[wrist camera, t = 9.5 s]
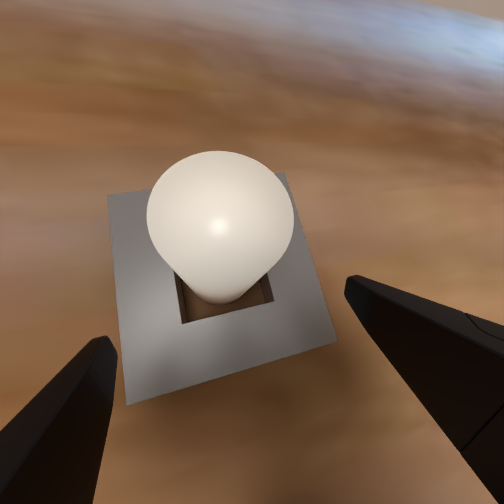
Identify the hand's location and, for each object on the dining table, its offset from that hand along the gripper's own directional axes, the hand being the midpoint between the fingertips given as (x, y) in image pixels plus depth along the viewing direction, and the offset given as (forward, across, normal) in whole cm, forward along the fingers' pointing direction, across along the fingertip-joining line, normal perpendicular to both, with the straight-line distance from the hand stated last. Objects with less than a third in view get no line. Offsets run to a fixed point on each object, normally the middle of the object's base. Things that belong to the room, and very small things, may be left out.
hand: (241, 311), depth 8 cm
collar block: (+10, 0, +5) cm, 11 cm away
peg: (+10, 0, +5) cm, 11 cm away
